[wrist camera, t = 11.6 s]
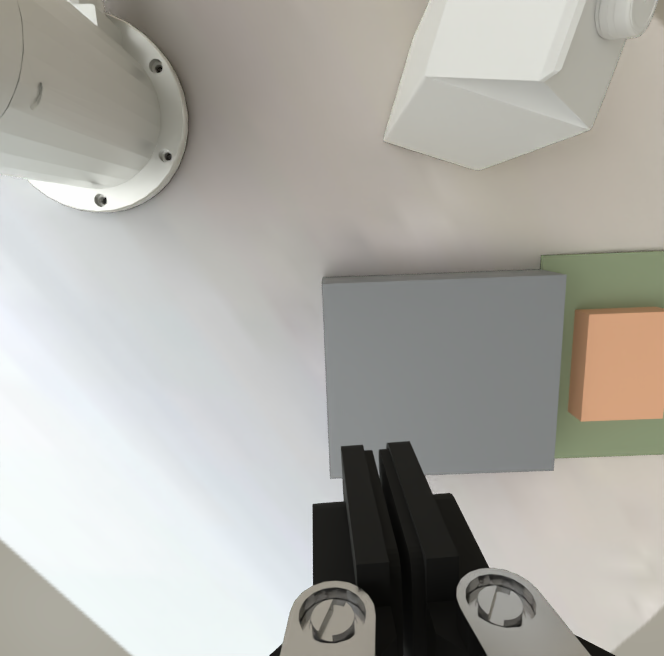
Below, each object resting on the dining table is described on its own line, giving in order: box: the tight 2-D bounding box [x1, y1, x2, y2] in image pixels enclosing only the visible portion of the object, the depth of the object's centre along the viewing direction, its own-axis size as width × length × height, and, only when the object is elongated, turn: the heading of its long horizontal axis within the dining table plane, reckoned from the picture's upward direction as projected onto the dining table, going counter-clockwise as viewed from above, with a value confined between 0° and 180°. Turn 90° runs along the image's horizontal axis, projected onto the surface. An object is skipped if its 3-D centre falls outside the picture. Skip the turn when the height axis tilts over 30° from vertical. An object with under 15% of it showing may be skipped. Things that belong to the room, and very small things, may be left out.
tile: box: [568, 307, 664, 422], centre depth 35 cm, size 8×6×2 cm
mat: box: [540, 251, 664, 458], centre depth 36 cm, size 16×14×1 cm
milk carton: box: [383, 0, 658, 171], centre depth 23 cm, size 7×7×19 cm
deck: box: [322, 269, 567, 479], centre depth 35 cm, size 14×16×4 cm
